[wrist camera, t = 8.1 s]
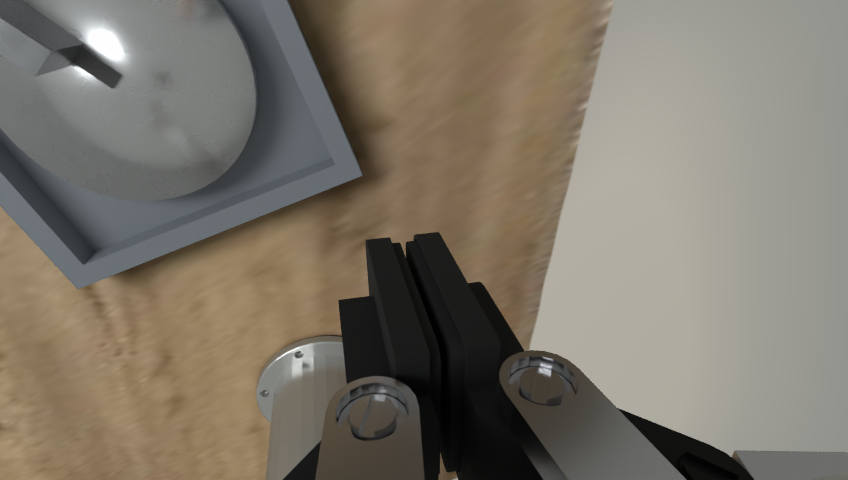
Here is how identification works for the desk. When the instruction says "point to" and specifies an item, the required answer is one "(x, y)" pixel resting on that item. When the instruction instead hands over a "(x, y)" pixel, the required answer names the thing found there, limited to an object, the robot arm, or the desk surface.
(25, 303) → the desk surface
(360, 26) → the desk surface
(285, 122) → the square tray
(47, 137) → the dial
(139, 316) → the desk surface
